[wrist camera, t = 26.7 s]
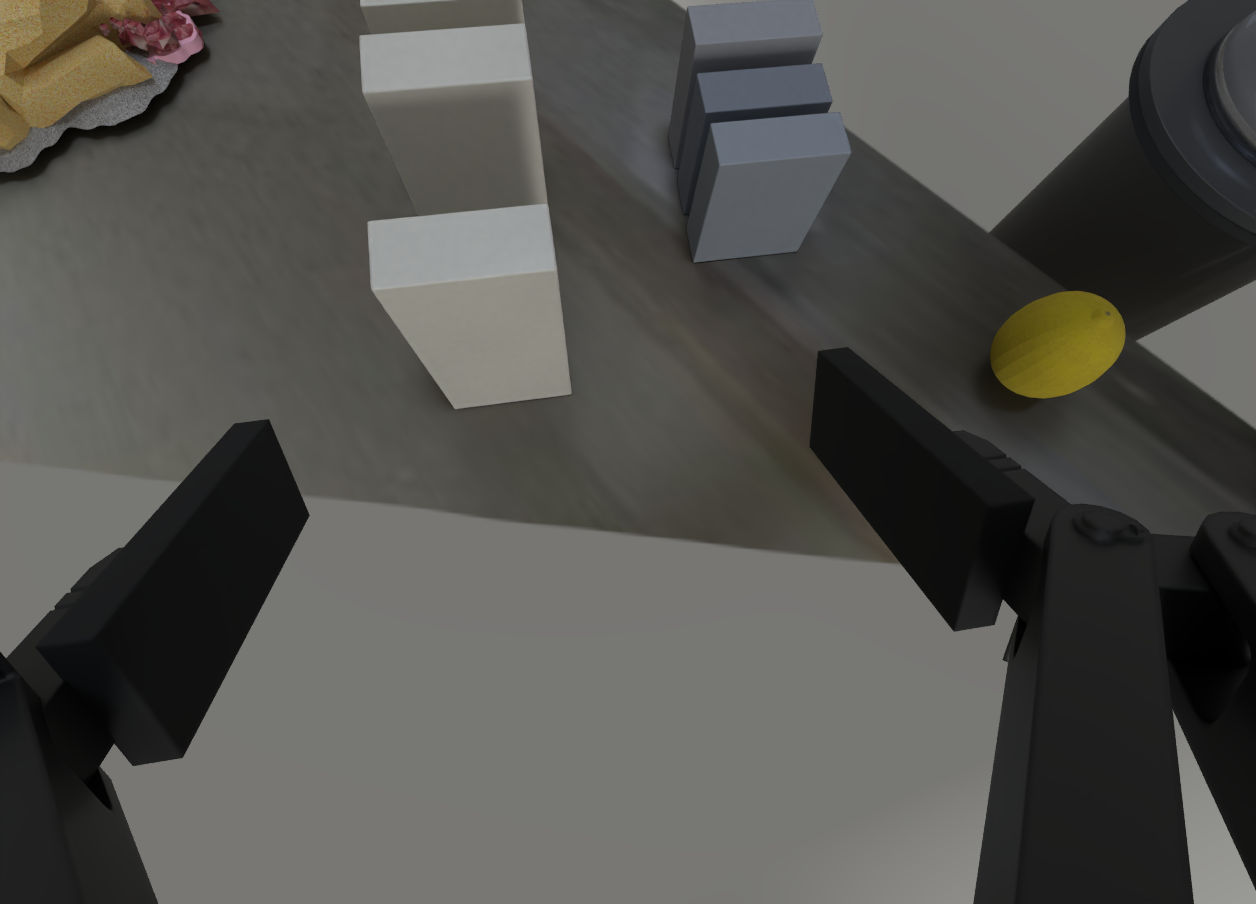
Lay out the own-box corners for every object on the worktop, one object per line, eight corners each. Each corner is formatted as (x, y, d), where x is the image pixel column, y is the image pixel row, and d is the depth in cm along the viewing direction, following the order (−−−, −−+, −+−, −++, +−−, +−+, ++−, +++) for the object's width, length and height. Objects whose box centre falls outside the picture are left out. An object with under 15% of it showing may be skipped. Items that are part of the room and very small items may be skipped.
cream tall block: (572, 394, 37) (557, 269, 24) (454, 409, 36) (370, 290, 23) (565, 349, 38) (547, 202, 24) (450, 363, 37) (366, 220, 24)
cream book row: (554, 262, 39) (532, 78, 26) (443, 274, 39) (361, 92, 25) (540, 157, 41) (513, -66, 28) (434, 167, 41) (353, -56, 27)
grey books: (797, 251, 40) (855, 146, 31) (692, 263, 40) (720, 159, 31) (767, 127, 43) (812, -4, 34) (668, 136, 42) (687, 6, 33)
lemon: (1064, 364, 39) (1178, 303, 31) (1027, 432, 38) (1136, 385, 30) (987, 317, 40) (1081, 245, 32) (948, 382, 38) (1036, 324, 31)
